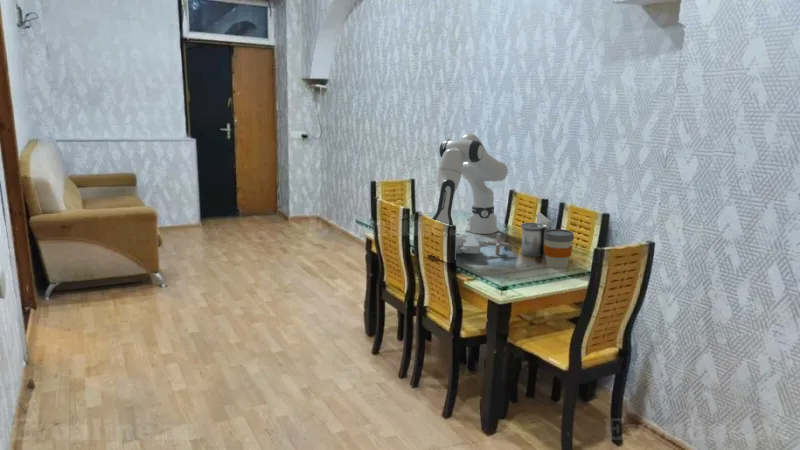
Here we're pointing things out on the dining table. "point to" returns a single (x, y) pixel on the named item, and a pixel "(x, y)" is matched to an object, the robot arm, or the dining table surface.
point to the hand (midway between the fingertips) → (487, 243)
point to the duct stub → (535, 236)
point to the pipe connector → (498, 243)
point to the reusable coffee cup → (558, 247)
